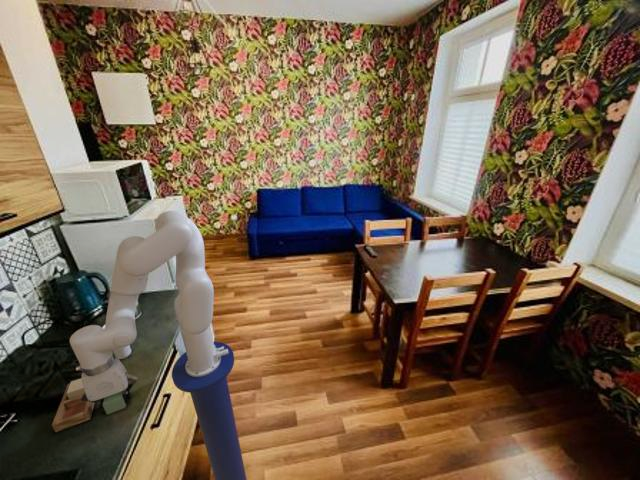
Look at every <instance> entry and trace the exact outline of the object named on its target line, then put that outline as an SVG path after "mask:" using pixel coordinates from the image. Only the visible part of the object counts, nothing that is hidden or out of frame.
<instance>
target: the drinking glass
mask: <svg viewBox="0 0 640 480" xmlns="http://www.w3.org/2000/svg"><path fill="white" fill-rule="evenodd" d="M101 327H102V328H103V329H105V324H104V325H103V326H101ZM112 352H113V355H114V357H115V358H118V359H119V360H123V359H126V358H128V357H129V356H130V355H131V354H132V348H131V344H130V345H128V346H126V347H123V348H119V349H114V350H112Z"/></svg>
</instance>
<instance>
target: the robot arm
mask: <svg viewBox="0 0 640 480" xmlns="http://www.w3.org/2000/svg"><path fill="white" fill-rule="evenodd" d="M154 229H155V231H154V232H153V233H152V234H151V235H149V236H147V237H146V238H145V237H142V236H137V235H136V236H135V235H133V236H128V237H126V238H124V239H123V240H121V242H120V243H119V245H118V246H117V251H116V256H115V260H114V261H115V262H114V267H113V273H112V278H111V279H112V280H111V284H110V291H111V294H110V299H109V300H108V305H107V311H106V316H105V324H104V325H105V329H103V328H102V327H103V326H100V325H97V324H90V325H87V326H83V327H81V328H79V329H78V330H76V331H75V332H74V333H73V334H71V336H70V338H69V344H70V347H71V349H72V351H73V353H74V355H75V357H76V360H77V361H78V363H79V365H77V366H76V367H75V371H76V372H79V371H82V373H81V378H82V383H83V387H84V391H85V392H84V394H83V395H82V397H81V401H89V402H94V403H95V404H96V405H99V408H100V409H101V410H103V413H106V411H105V409H104V407H103V401H104V397H107V396H110V395H113V394H116V393H118V392H122V393H123V399H124V401H125V403H126V405H128V404H129V402H130V399H131V397H132V394H131V392H130V390H132V388H133V386H134V385H135V384H136V383H137V382H138V379H139V377H138V376H135V375H133V374H129V373H128V371H127V369H126V367H125V365H124V363H122V361H121V359H118V358H116V357H115V355H114V353H113V351H112V350H114V349H119V348H123V347H126V346H128V345H130V346H131V345H132V344H133V343H134V342H135V341H136V339H137V337H138V331H137V325H136V323H137V322H136V319H135V310H136V305H137V301H139V297H140V295H141V294H142V293H144V292H145V291H146V290H147V285H148V281H149V274H150V273H152V272H153V271H155V270H157V269H158V268H160V267H161V266H163V265H164V264H167V262H168V261H170V260H171V259H173V258H174V257H175V277H174V278H175V285H176V289H177V291H178V293H179V294H178V295H177V296H176V298H175V300H174V302H173V311H174V314H175V318H176V320H177V323H178V324H177V325H178V327H179V330H180V331H179V332H180V335H181V338H182V342H183V346H184V350H185V352H186V353H187V357H188V361H187V362H186V366H185V368H186V372H187V373H188V374H189V375H190V376H193V377H201V376H205V375H207V374H209V373H211V372H213V371H214V370H215V369H216V368H217V367H218V366H219V364H220V362H221V356H223V355H226V354H229V352H228V349H225V350H224V346H223V347H220V348H218V349H217V348H215V345H214V342H215V341H214V338H213V334H212V328H211V324H212V321H213V319H214V302H215V301H214V300H215V289H214V284H213V282H212V279H211V278H210V277H209V275H208V273H207V271H206V254H205V253H206V252H205V250H206V249H205V242H204V238H203V235H202V233H201V231H200V229H199V228H198V227H197V225H196V224H195V222H194V221H193V220H192V219H190V218H189V217H188V216H186V215H184V214H182V213H180V212H178V211H174V210H167V211H163V212H162V213H160V214H159V215H158V216H157V217H156V219H155V223H154ZM110 291H109V292H110ZM222 350H223V351H222ZM219 351H220V352H219Z"/></svg>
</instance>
